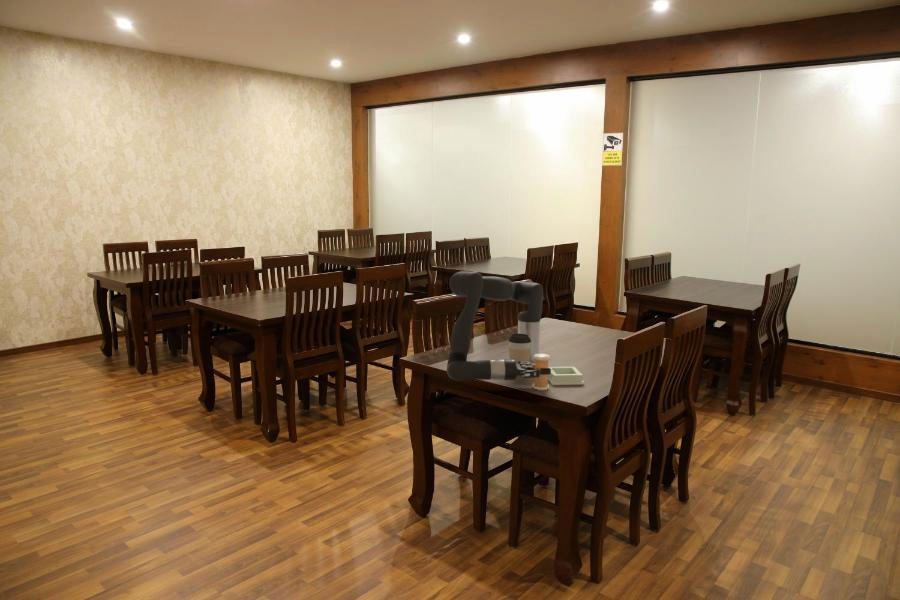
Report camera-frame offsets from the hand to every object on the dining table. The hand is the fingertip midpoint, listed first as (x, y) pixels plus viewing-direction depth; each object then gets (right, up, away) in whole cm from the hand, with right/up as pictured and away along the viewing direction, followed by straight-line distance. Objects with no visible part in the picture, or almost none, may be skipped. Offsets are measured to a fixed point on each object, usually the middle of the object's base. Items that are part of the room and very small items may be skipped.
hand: (548, 369), depth 217 cm
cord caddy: (+8, -5, +11) cm, 14 cm away
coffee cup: (-8, -4, +21) cm, 23 cm away
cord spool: (-3, -7, +1) cm, 7 cm away
